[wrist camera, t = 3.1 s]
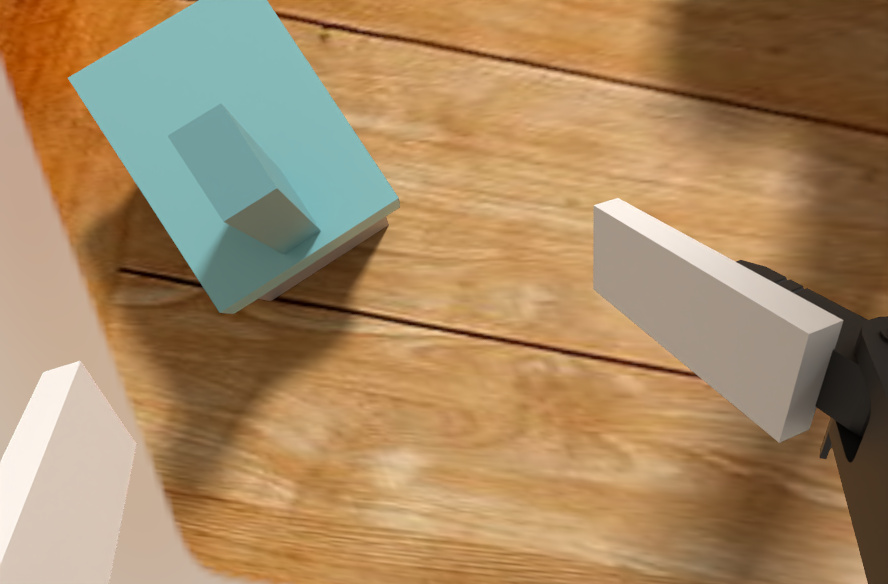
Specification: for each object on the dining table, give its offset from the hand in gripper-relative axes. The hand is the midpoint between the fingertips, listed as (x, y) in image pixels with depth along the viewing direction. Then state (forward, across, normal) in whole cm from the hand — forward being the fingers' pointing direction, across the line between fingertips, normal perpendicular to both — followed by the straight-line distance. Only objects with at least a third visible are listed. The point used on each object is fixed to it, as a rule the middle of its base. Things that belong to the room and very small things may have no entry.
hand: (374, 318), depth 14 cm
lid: (+22, -3, -1) cm, 23 cm away
